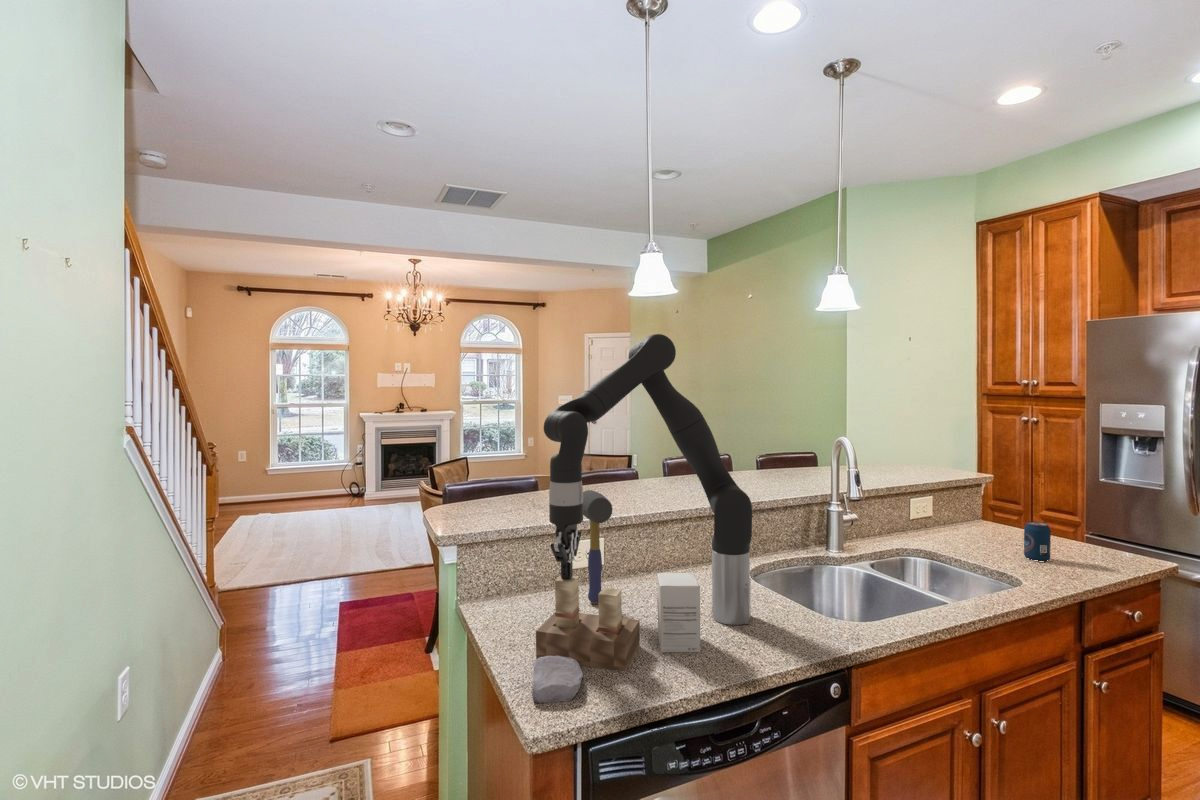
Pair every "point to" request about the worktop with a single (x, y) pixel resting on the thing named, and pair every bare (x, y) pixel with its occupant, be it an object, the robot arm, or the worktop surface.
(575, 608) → the far birch peg
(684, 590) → the supplement box
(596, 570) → the rubber mallet
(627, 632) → the wooden mortise block
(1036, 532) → the soda can
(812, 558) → the worktop surface
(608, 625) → the near birch peg
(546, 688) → the stone block
